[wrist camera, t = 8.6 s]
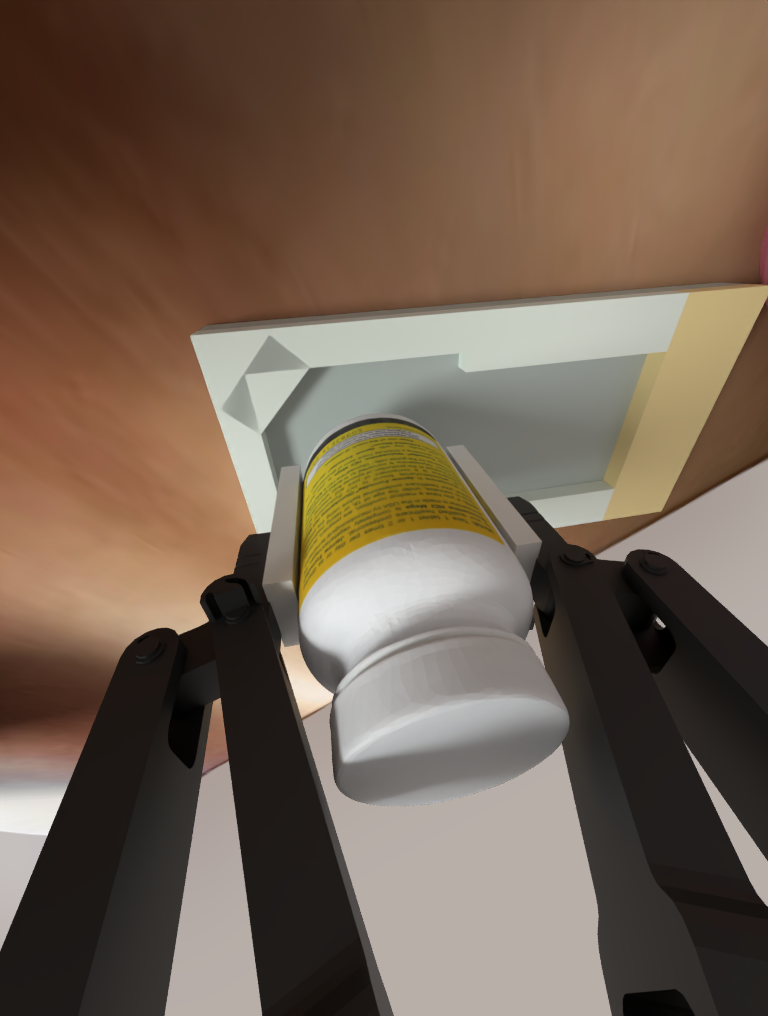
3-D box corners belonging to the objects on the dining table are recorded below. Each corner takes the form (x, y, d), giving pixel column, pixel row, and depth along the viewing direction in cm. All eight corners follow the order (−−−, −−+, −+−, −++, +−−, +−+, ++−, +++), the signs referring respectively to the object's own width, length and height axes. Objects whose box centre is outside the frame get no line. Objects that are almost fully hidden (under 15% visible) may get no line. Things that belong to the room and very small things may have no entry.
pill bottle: (272, 477, 15) (209, 801, 6) (382, 374, 13) (523, 611, 4) (370, 551, 18) (423, 834, 9) (468, 476, 16) (651, 732, 8)
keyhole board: (274, 543, 22) (270, 572, 20) (206, 325, 15) (189, 335, 13) (632, 490, 24) (661, 511, 22) (719, 282, 17) (773, 285, 15)
